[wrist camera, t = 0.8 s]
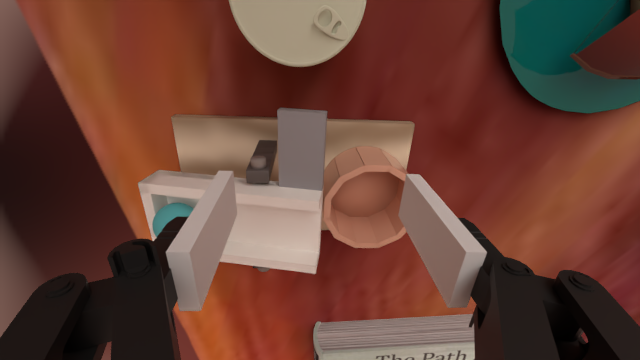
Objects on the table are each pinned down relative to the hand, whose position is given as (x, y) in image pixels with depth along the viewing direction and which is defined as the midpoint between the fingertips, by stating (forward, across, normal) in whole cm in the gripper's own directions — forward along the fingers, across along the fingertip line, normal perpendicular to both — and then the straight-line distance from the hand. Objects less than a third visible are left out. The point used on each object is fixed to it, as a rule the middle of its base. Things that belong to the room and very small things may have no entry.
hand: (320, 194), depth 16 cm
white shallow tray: (+11, -7, -5) cm, 14 cm away
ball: (+9, -13, -8) cm, 18 cm away
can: (+20, -2, +10) cm, 22 cm away
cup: (+18, +7, -8) cm, 21 cm away
